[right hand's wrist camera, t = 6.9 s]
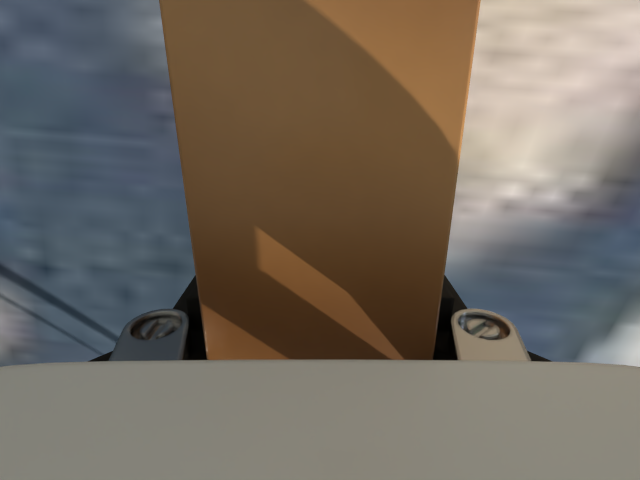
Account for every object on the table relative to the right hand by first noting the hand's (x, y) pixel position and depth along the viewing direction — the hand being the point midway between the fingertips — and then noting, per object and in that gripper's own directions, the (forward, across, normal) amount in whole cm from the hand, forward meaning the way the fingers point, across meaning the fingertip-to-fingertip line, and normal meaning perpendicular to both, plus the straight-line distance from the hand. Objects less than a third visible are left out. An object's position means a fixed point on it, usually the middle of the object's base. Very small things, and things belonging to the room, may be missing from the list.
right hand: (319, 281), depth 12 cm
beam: (+2, 0, -35) cm, 35 cm away
